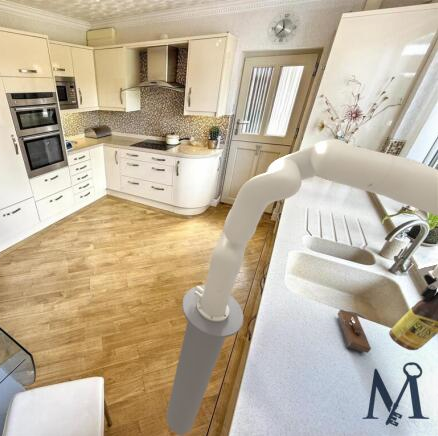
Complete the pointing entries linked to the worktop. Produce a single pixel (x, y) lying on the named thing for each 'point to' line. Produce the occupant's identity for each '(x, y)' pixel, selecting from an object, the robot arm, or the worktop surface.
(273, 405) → the worktop surface
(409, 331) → the sauce bottle
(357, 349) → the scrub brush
